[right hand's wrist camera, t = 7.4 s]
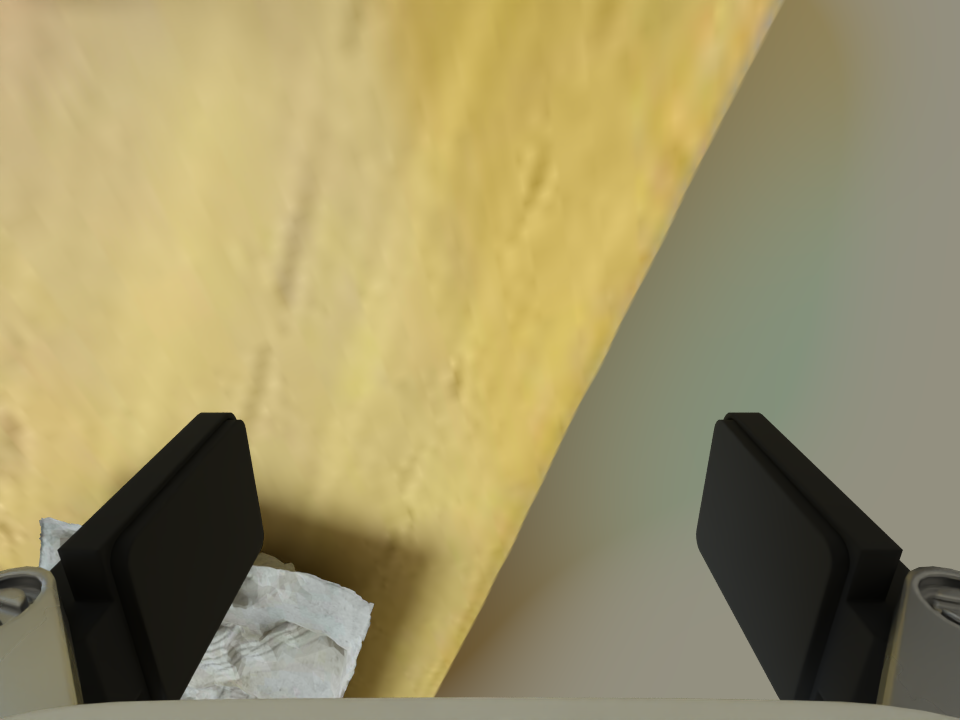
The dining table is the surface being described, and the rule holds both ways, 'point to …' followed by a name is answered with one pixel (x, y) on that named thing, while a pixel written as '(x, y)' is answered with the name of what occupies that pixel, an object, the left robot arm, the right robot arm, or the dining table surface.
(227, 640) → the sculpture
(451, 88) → the dining table surface
